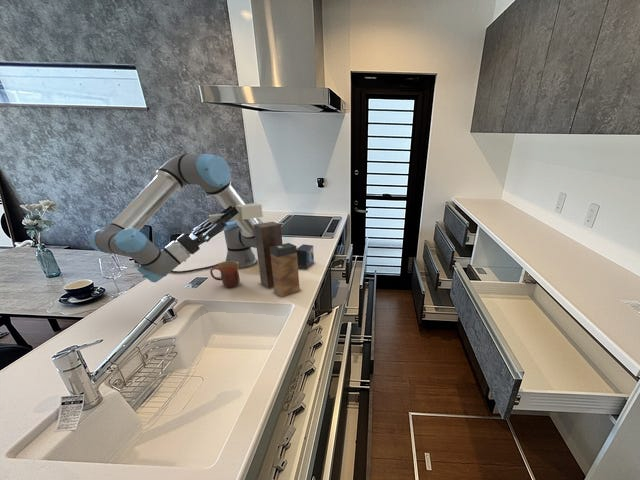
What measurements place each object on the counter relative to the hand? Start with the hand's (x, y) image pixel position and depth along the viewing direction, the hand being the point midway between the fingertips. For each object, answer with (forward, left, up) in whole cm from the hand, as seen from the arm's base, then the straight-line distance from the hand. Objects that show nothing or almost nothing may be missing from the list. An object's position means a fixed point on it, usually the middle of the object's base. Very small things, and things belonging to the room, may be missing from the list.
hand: (234, 208), depth 119 cm
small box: (+22, +31, -36) cm, 53 cm away
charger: (+1, +1, -4) cm, 4 cm away
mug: (-10, +6, -36) cm, 38 cm away
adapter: (+18, 0, -18) cm, 25 cm away
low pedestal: (+18, 0, -36) cm, 40 cm away
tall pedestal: (+10, +9, -36) cm, 38 cm away
